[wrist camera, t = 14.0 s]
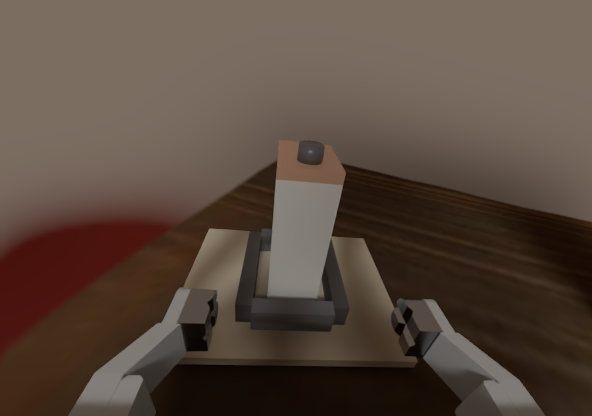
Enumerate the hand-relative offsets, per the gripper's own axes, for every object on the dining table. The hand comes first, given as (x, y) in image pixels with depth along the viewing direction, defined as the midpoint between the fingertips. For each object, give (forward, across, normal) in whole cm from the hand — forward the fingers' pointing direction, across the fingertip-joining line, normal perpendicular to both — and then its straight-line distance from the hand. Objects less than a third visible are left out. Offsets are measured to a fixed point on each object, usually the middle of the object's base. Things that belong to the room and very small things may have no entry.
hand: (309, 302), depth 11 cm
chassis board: (+9, 0, +9) cm, 12 cm away
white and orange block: (+9, 0, +8) cm, 12 cm away
